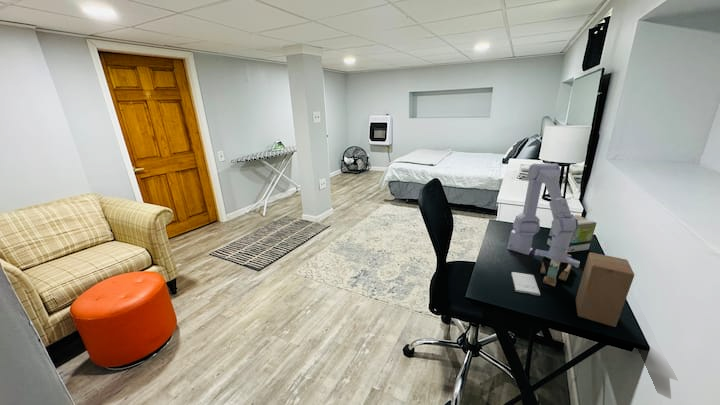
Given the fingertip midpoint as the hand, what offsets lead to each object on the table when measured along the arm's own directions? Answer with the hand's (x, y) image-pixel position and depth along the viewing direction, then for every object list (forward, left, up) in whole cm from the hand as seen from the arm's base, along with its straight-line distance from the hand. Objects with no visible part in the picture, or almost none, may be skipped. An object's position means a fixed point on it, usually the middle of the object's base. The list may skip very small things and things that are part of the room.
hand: (551, 275), depth 114 cm
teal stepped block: (0, 0, -2) cm, 2 cm away
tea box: (0, +36, -2) cm, 36 cm away
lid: (0, +9, +2) cm, 9 cm away
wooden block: (+15, -12, -2) cm, 19 cm away
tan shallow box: (0, +5, -2) cm, 6 cm away
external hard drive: (-7, -10, -3) cm, 12 cm away
